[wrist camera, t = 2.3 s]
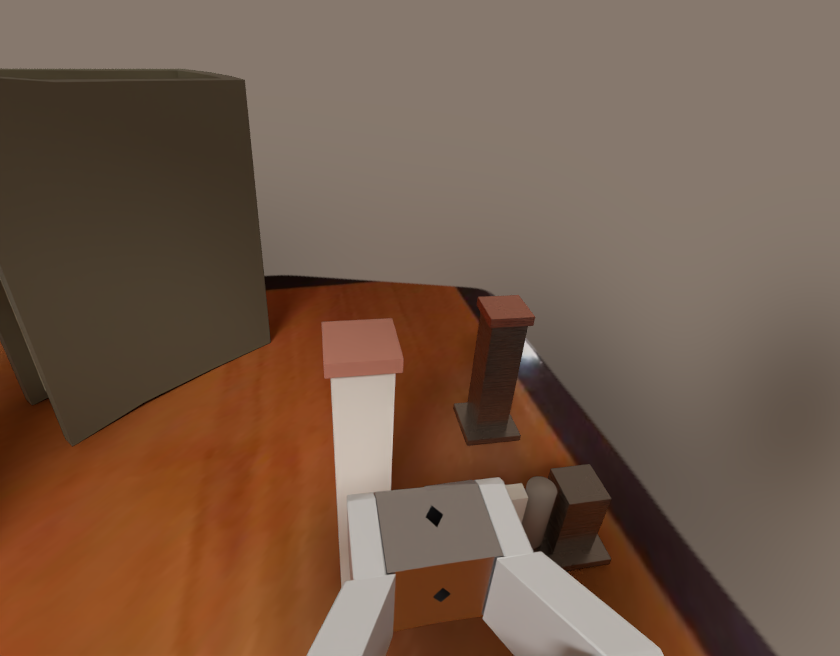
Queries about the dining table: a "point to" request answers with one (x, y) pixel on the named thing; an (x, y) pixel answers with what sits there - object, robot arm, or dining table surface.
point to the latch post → (495, 371)
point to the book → (125, 235)
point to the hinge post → (576, 519)
